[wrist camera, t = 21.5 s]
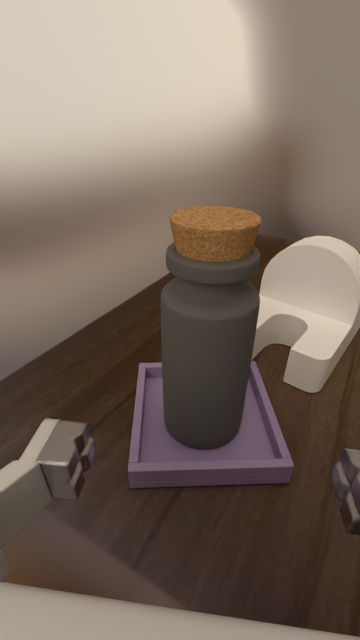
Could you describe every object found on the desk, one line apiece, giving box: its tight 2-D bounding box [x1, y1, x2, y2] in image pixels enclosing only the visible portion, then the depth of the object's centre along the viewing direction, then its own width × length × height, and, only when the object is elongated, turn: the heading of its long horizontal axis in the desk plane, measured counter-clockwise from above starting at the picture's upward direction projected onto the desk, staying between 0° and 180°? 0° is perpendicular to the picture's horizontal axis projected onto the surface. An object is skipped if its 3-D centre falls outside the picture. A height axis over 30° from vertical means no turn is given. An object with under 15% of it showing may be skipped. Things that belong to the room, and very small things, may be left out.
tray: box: [128, 361, 294, 488], centre depth 24 cm, size 10×10×2 cm
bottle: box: [161, 206, 262, 450], centre depth 20 cm, size 6×6×15 cm
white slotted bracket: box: [251, 236, 360, 393], centre depth 33 cm, size 10×18×10 cm, turn 141°
